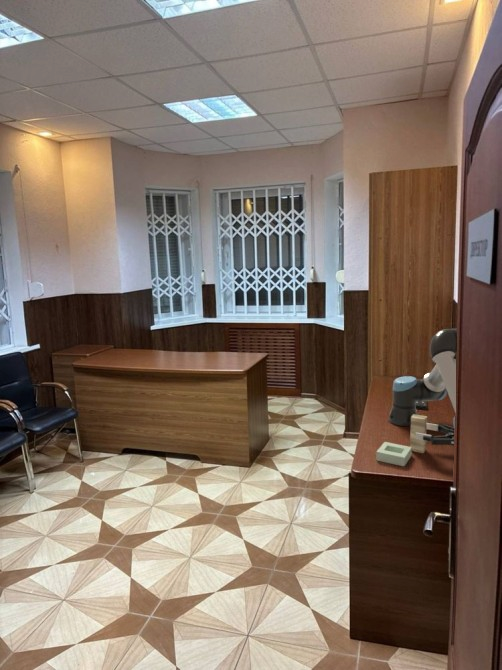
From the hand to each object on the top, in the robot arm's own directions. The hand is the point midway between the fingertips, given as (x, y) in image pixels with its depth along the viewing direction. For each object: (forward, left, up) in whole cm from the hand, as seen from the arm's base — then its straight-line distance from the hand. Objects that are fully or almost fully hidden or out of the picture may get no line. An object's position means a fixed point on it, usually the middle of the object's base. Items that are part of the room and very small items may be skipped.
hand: (419, 430), depth 210 cm
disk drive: (-63, -16, -11) cm, 66 cm away
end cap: (+12, -8, -10) cm, 18 cm away
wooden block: (-1, -1, -10) cm, 10 cm away
